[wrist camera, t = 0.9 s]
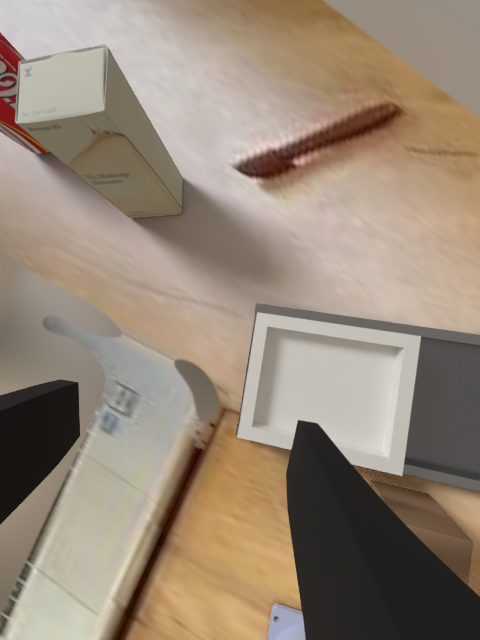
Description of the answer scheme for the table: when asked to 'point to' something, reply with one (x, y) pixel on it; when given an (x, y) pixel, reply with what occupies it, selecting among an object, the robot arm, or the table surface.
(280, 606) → the robot arm
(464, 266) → the table surface
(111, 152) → the skincare box
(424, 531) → the walnut block
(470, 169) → the table surface
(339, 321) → the track
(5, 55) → the soda can
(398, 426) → the white shallow tray
